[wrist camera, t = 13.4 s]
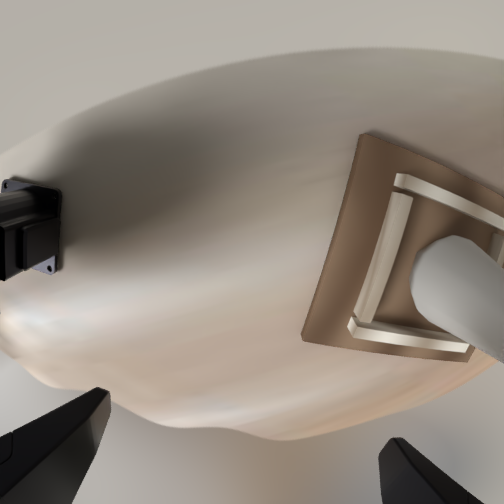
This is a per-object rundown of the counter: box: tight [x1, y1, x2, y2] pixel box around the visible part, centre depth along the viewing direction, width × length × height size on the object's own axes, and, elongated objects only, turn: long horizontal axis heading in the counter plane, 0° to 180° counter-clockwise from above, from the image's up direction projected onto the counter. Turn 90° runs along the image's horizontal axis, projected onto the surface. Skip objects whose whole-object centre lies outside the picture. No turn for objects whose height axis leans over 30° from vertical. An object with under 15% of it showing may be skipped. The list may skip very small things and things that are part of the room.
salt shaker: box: [409, 235, 504, 363], centre depth 13 cm, size 6×6×13 cm
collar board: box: [301, 133, 504, 362], centre depth 19 cm, size 16×14×2 cm
